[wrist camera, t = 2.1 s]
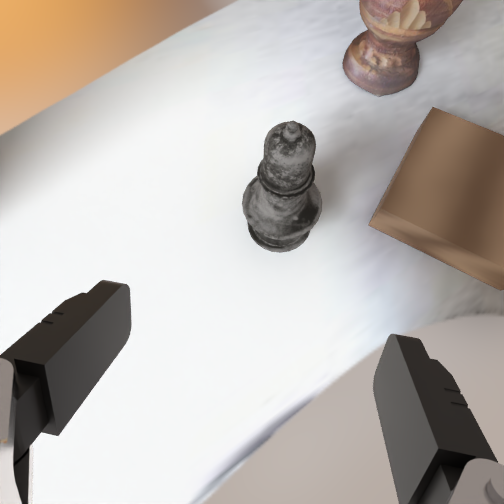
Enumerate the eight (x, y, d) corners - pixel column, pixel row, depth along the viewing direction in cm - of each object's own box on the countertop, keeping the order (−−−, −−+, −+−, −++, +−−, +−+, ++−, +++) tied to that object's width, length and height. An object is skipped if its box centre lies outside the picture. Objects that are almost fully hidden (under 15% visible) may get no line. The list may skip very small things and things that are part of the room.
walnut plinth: (368, 225, 28) (380, 208, 25) (416, 131, 31) (432, 106, 28) (500, 290, 26) (530, 280, 23) (538, 182, 29) (568, 162, 26)
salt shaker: (244, 192, 29) (235, 78, 18) (311, 191, 29) (346, 75, 18) (243, 256, 27) (234, 172, 16) (316, 255, 27) (358, 170, 16)
